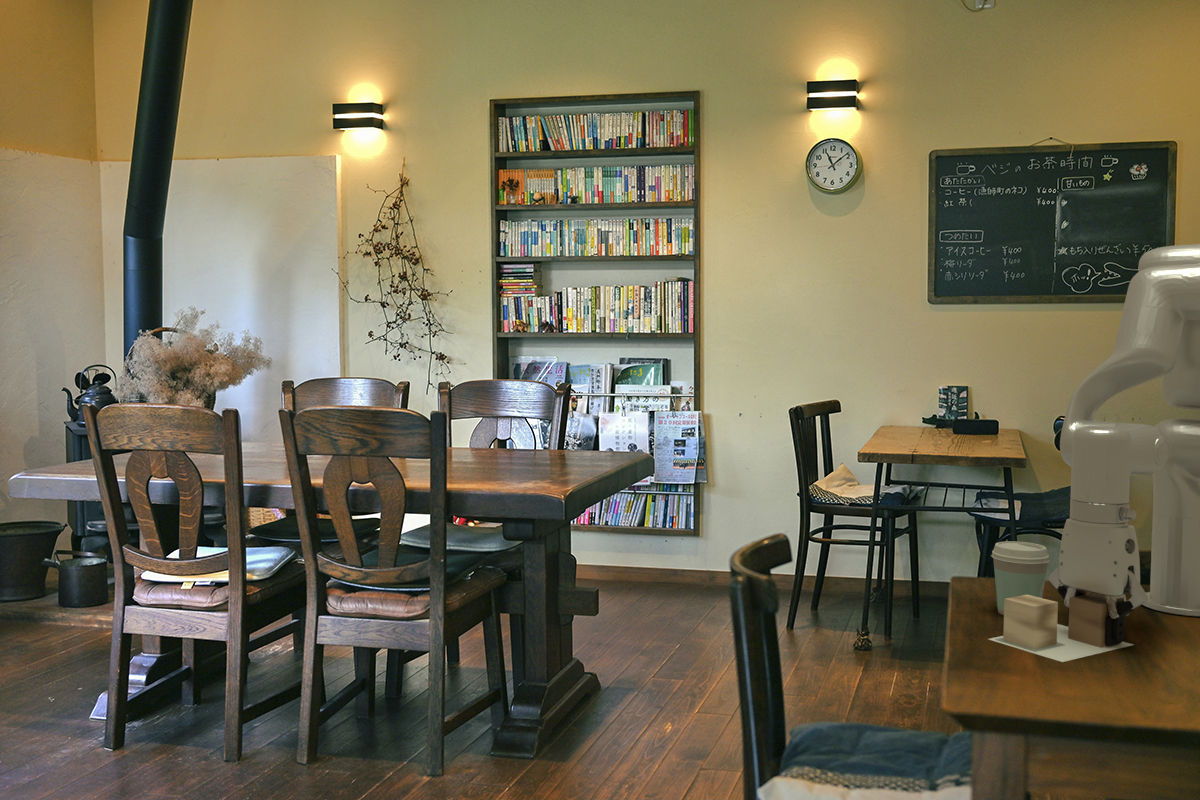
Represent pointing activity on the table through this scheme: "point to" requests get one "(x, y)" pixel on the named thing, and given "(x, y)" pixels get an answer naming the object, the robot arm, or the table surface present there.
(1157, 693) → the table surface
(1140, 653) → the table surface
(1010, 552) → the coffee cup
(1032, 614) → the beech block
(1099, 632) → the walnut block
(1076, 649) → the build board
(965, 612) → the table surface
